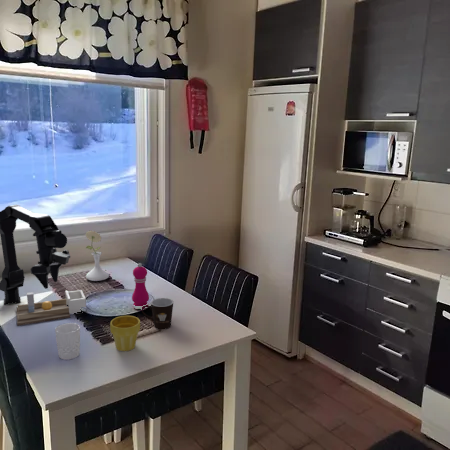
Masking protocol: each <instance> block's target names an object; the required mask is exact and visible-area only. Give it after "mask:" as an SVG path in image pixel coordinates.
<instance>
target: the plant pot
mask: <svg viewBox="0 0 450 450" xmlns="http://www.w3.org/2000/svg"><path fill="white" fill-rule="evenodd" d="M109 327H110V329H109V330H110V333H111V334H112V336H113V340H114V341H113V342H114V344H115V348H116V351H117V350H118V351H119V352H129V351H132V350H134V349H135V348H136V343H137V340H138V334H139V332H140V331H141V320H140V318H139V317H136V316H134V315H121V316H116V317H115V318H113V319H112V320H111V321H110V324H109Z"/></svg>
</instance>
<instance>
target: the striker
mask: <svg viewBox="0 0 450 450" xmlns="http://www.w3.org/2000/svg"><path fill="white" fill-rule="evenodd" d="M26 300H27V304H28V308H29V313H31V312H34V303H35V297H34V291H32V292H26Z"/></svg>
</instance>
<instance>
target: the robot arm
mask: <svg viewBox="0 0 450 450" xmlns="http://www.w3.org/2000/svg"><path fill="white" fill-rule="evenodd" d="M18 220H20V221H22V222H25V223H26V224H28V226H29V228H30V229H31V230H33V231H34V233H33V234H32V237H36V245H37V251H36V255H38V257H39V260H38V261H37V263H36V264H35V265H32V266H31V268H30V269H29V270H30V273H31V275H33V276H34V277H36V279H37V280H38V281H39V282H40V284H41V285H42V286H43V288H44V289H47V290H48V289H49V275H50V277H51V278H52V280H53V282H54V283H57V282H58V278H59V272H60V269H61V267H62V266H63V265H66V264H68V263H69V260H70V259H71V254H70V251H69V250H68V249H64V248H65V247H66V245H67V244H68V238H67V236H66V234H65V233H62V230H61V229H59V227H58V225H57V224H56V223H55V222H54V219H53V218H52V216H51V215H49V214H46V213H35V212H33V211H30V210H28V209H26V208H24V207H22V206H21V205H19V204H12V205H7V206H6V207H5V208H4V209H3V210H1V211H0V240H1V241H0V242H1V250H2V254H3V263H4V268H3V271H2V273H1V280H0V291H1V292H4V294H3V295H4V298H3V299H4V300H3V301H4V302H3V305H5V306H6V305H11V304H20V303H22V301H21V296H20V289H19V288H22V287H24V285H25V284H24V282H25V274H24V269H23V268H20V266H19V265H18V259H17V250H16V245H15V239H14V238H15V237H14V232H15V230H16V228H17V221H18ZM57 249H64V250H63V251H58V250H57Z"/></svg>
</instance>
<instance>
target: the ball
mask: <svg viewBox="0 0 450 450" xmlns="http://www.w3.org/2000/svg"><path fill="white" fill-rule="evenodd" d="M49 301H50V300H45V301H43V302H44V303H43V304H42V309H43V310H50V309H51V308H52V303H51V302H49Z"/></svg>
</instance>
